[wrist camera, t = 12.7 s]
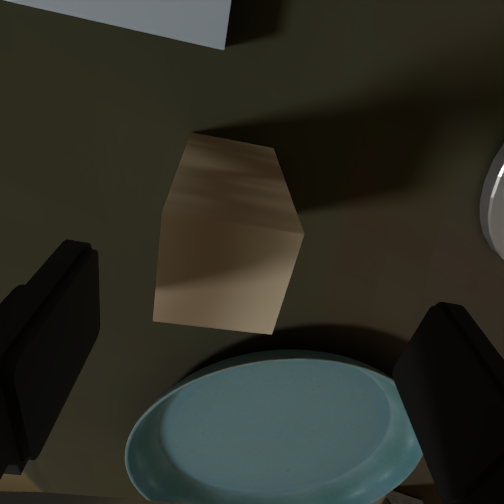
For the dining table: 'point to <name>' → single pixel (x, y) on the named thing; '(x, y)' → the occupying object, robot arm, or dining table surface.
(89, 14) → the grey square-hole plate
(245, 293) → the plug
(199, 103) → the dining table surface
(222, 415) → the blue plate
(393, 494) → the coffee box
